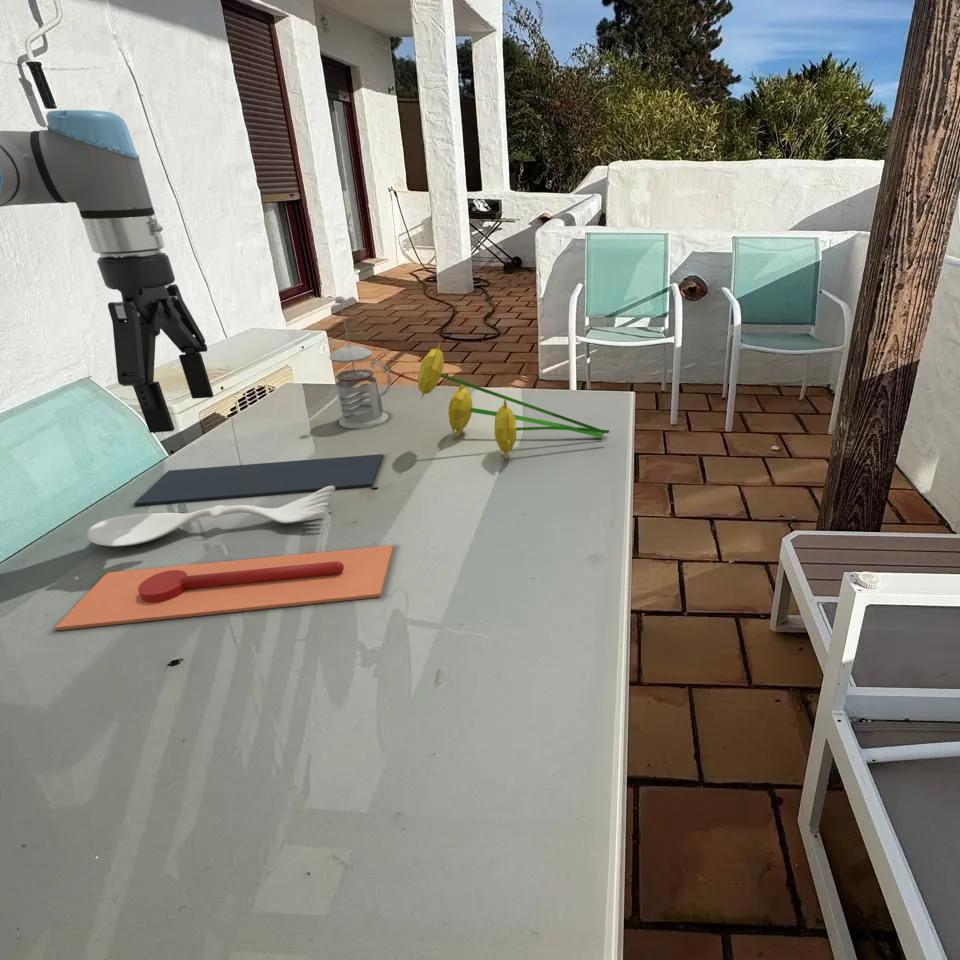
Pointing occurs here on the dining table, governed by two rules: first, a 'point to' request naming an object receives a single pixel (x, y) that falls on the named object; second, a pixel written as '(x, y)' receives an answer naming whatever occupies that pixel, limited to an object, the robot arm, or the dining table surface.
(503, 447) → the flowers
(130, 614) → the terracotta mat
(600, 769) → the dining table surface
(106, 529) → the white spork
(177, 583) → the red spoon
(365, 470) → the slate mat
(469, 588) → the dining table surface
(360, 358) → the french press
